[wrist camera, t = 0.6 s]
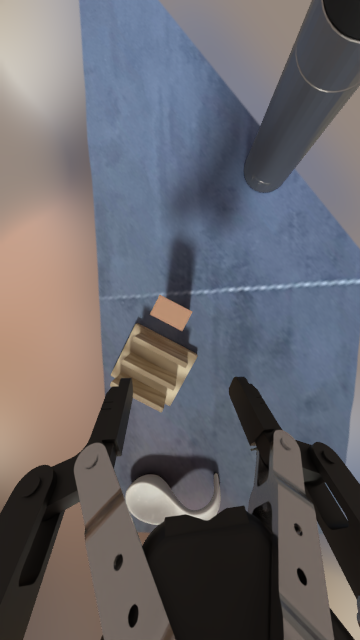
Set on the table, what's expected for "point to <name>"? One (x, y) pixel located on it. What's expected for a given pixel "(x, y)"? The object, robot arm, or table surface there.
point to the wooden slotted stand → (153, 367)
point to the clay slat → (171, 312)
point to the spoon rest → (164, 501)
